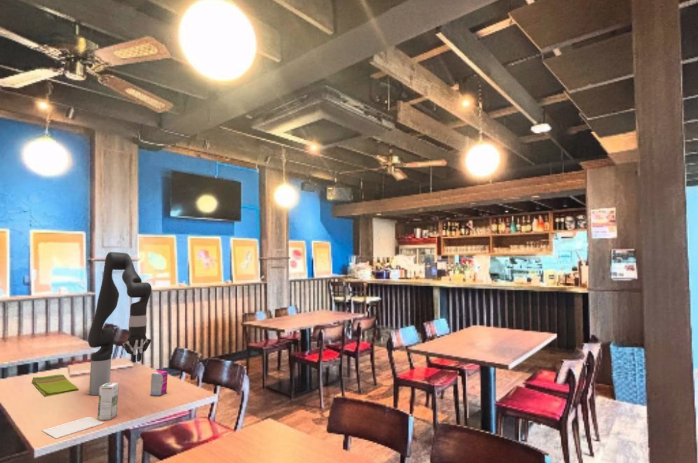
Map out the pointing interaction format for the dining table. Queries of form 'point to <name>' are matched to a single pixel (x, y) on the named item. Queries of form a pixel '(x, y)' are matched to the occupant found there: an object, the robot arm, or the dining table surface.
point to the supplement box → (158, 383)
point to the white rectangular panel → (72, 427)
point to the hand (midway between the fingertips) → (136, 361)
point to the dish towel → (53, 385)
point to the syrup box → (108, 401)
